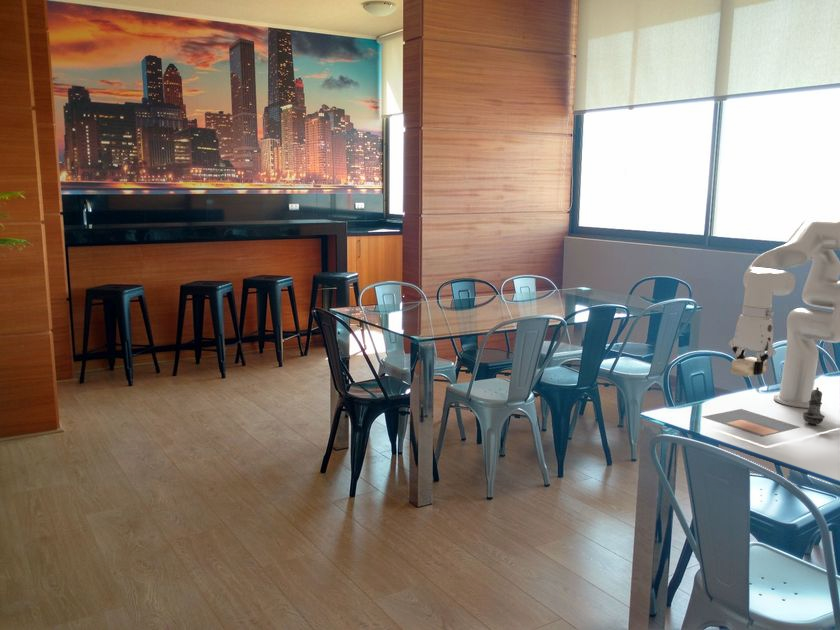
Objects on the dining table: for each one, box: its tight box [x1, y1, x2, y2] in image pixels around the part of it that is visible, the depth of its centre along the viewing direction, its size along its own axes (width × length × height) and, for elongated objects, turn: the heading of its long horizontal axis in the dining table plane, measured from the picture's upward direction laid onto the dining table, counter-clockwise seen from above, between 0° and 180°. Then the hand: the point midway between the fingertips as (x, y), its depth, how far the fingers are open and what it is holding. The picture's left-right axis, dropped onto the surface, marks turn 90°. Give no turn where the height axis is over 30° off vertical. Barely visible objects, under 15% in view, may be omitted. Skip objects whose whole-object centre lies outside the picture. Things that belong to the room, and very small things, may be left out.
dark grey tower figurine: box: [802, 386, 825, 427], centre depth 213 cm, size 6×6×12 cm
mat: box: [702, 408, 801, 437], centre depth 213 cm, size 20×19×1 cm
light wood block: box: [730, 356, 768, 378], centre depth 218 cm, size 10×5×4 cm, turn 124°
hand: (748, 371), depth 218 cm, fingers closed on light wood block, 5 cm apart
